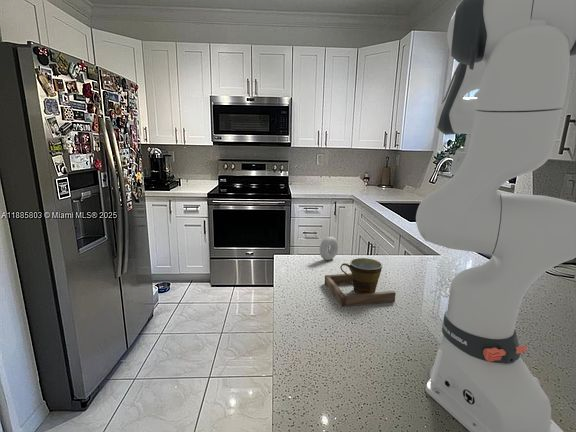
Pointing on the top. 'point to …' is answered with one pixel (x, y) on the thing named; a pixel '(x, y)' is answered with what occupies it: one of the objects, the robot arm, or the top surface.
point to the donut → (324, 248)
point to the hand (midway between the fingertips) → (474, 192)
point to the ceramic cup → (364, 274)
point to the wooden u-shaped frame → (355, 298)
